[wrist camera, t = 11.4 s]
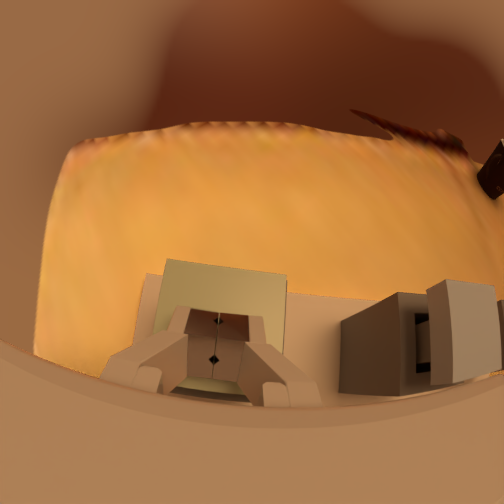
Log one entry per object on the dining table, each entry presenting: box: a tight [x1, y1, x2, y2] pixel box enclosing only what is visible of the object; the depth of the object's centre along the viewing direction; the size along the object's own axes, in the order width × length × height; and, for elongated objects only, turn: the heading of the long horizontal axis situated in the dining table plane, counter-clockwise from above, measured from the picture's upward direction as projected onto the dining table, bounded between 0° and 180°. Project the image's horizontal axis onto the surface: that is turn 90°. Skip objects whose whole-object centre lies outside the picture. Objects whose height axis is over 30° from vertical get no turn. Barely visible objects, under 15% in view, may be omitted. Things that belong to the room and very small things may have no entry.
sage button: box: [153, 259, 286, 395], centre depth 12 cm, size 5×5×5 cm
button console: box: [133, 269, 504, 407], centre depth 17 cm, size 38×10×10 cm, turn 85°
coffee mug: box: [477, 139, 504, 199], centre depth 33 cm, size 12×9×10 cm
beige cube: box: [415, 279, 502, 385], centre depth 12 cm, size 5×5×5 cm
